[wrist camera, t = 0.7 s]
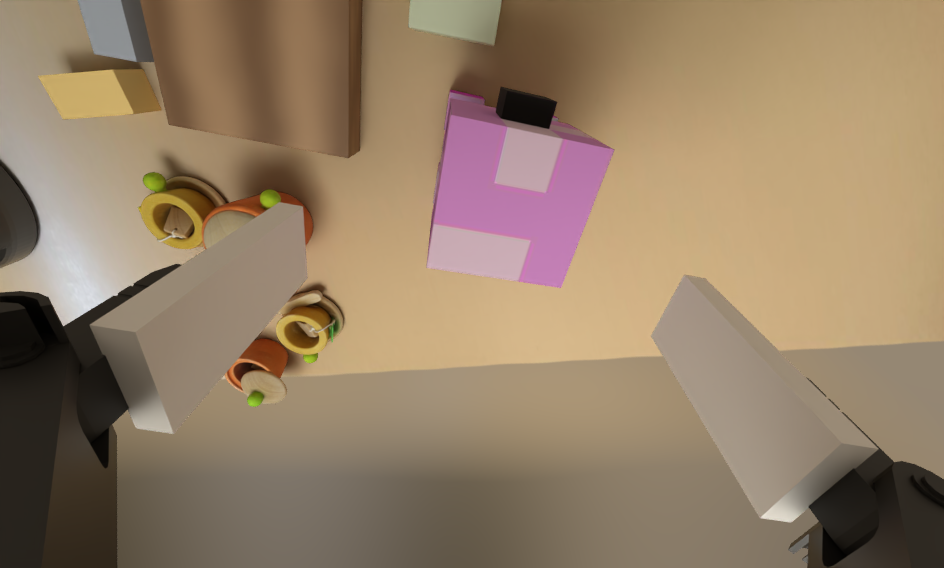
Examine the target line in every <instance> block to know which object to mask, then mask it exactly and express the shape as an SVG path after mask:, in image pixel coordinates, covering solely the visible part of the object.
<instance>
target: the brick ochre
mask: <svg viewBox="0 0 944 568" xmlns="http://www.w3.org/2000/svg"><path fill="white" fill-rule="evenodd" d="M38 77H39V79H40V81H41V82H42V84H43V86H44V87H45V89H46V91H47V93H48V94H49V96H50V98H51V99H52V101H53V103H54V105H55V106H56V108H57V110H58V111H59V113H60V115H61V117H62V118H63V119H76V118H89V117H102V116H114V115H127V114H137V113H145V112H152V111H159V110H161V108H160V105H159V103H158V101H157V99H156V97H155V94H154V92H153V90H152V88H151V86H150V83H149V81H148V79H147V77H146V75H145V72H144V70H143V69H113V70H101V71H90V72H78V73H67V74H55V75H44V76H38Z"/></svg>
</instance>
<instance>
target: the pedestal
mask: <svg viewBox="0 0 944 568" xmlns="http://www.w3.org/2000/svg"><path fill="white" fill-rule="evenodd" d="M140 2H141V7H142V11H143V15H144V20H145V24H146V28H147V33H148V37H149V41H150V46H151V50H152V54H153V58H154V63H155V67H156V71H157V76H158V80H159V84H160V89H161V93H162V97H163V102H164V106H165V110H166V115H167V119H168V123H169V125H173V126H178V127H184V128H189V129H194V130H200V131H205V132H211V133H216V134H221V135H227V136H232V137H237V138H243V139H248V140H254V141H259V142H264V143H270V144H275V145H280V146H286V147H291V148H297V149H302V150H307V151H313V152H318V153H323V154H329V155H334V156H340V157H345V158H349V157H351V156H352V155H354V154H355V153H357V152H358V151H360V97H361V38H362V0H140Z"/></svg>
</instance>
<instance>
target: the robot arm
mask: <svg viewBox="0 0 944 568" xmlns="http://www.w3.org/2000/svg"><path fill="white" fill-rule="evenodd" d="M36 239H37V227H36V222H35V218H34V215H33V212H32V210H31V208H30V206H29V204H28V202H27V200H26V198H25V196H24V195H23V193H22V192H21V190H20V189H19V187H18V186H17V185H16V183H15V182H14V181H13V180H12V178H11V177H10V176H9V175H8V174H7V173H6V171H5V170H4V169H3V168H2V167H1V166H0V268H2V267H4V266H7V265H9V264H12V263H14V262H17V261H19V260H21V259H23V258H25V257H26V256H27V255H29V254H30V252H31V251H32V250H33V248H34V246H35V243H36ZM307 278H308V277H307V261H306V245H305V230H304V214H303V206H298V205H292V204H287V203H281V202H279V203H277V204H276V205H274V206H273V207H271V208H270V209H268V210H266V211H265V212H263V213H262V214H260V215H259V216H257V217H256V218H254V219H253V220H251V221H249V222H248V223H246V224H245V225H243V226H242V227H240V228H239V229H237V230H236V231H234V232H232V233H231V234H229V235H228V236H226V237H225V238H223V239H222V240H220V241H218V242H217V243H215V244H214V245H212V246H211V247H209V248H208V249H206V250H205V251H203V252H201V253H200V254H198V255H197V256H195V257H194V258H192V259H191V260H189V261H188V262H186V263H184V264H183V265H180V264H175V265H172V266H169V267H166V268H163V269H160V270H157V271H154V272H152V273H150V274H149V275H147V276H145V277H144V278H142V279H140V280H139V281H137V282H136V283H134V285H133V286H129V287H127V288H126V289H124V290H122V291H121V292H119V293H118V296H113V297H111V298H109V299H108V300H106V301H104V302H103V303H101V304H99V305H98V306H96V307H95V308H93V309H91V310H90V311H88V312H86V313H85V314H83V315H81V316H80V317H78V318H77V319H75V320H73V321H72V322H70V323H68V324H67V325H65V326H63V325H62V323H61V321H60V319H59V317H58V315H57V313H56V311H55V309H54V307H53V305H52V303H51V301H50V299H49V297H46V296H44V295H42V294H39V293H34V292H23V291H17V292H3V293H0V568H117V435H116V432H115V430H114V427H113V425H112V424H113V423H114V422H115V421H116V420H117V419H118V418H119V417H120V416H121V415H122V414H123V413H124V412H125V411H126V410H128V412H129V414H130V416H131V418H132V420H133V423H134V425H135V427H136V428H137V429H144V430H151V431H158V432H165V433H172V434H173V433H175V432H176V430H177V429H178V428H179V427H180V426H181V425H182V423H183V422H184V421H185V419H187V418H188V416H189V415H190V414H191V413H192V412H193V411H194V409H195V408H196V407H197V406H198V405H199V404H200V403H201V401H202V400H203V399H204V398H205V397H206V395H207V394H208V393H209V392H210V391H211V390H212V389H213V387H214V386H215V385H216V384H217V383H218V381H219V380H220V379H221V378H222V377H223V376H224V375H225V373H226V372H227V371H228V370H229V369H230V368H231V366H232V365H233V364H234V363H235V362H236V361H237V359H238V358H239V357H240V356H241V355H242V354H243V353H244V351H245V350H246V349H247V348H248V347H249V346H250V344H251V343H252V342H253V341H254V340H255V339H256V337H257V336H258V335H259V334H260V333H261V332H262V330H263V329H264V328H265V327H266V326H267V325H268V323H269V322H270V321H271V320H272V319H273V318H274V316H275V315H276V314H277V313H278V312H279V311H280V309H281V308H282V307H283V306H284V305H285V304H286V303H287V301H288V300H289V299H290V298H291V297H292V296H293V294H294V293H295V292H296V291H297V290H298V289H299V287H300V286H301V285H302V284H303V283H304V282H305V280H306V279H307ZM651 337H652V339H653V340H654V342H655V344H656V345H657V347H658V349H659V350H660V352H661V354H662V355H663V357H664V359H665V360H666V362H667V364H668V365H669V367H670V369H671V370H672V372H673V374H674V375H675V377H676V379H677V380H678V382H679V384H680V385H681V387H682V388H683V390H684V392H685V394H686V395H687V397H688V399H689V400H690V402H691V404H692V405H693V407H694V409H695V410H696V412H697V414H698V415H699V417H700V419H701V420H702V422H703V424H704V425H705V427H706V429H707V430H708V432H709V434H710V435H711V437H712V439H713V440H714V442H715V444H716V446H717V447H718V449H719V450H720V452H721V454H722V456H723V457H724V459H725V461H726V462H727V464H728V465H729V467H730V468H731V471H732V472H733V474H734V476H735V477H736V479H737V481H738V482H739V484H740V486H741V487H742V489H743V491H744V492H745V494H746V496H747V497H748V499H749V501H750V502H751V504H752V506H753V507H754V509H755V511H756V512H757V514H758V516H759V517H760V518H764V519H771V520H779V521H785V522H792V521H793V520H795V519H796V518H797V517H798V516H799V515H801V514H802V513H803V512H804V511H805V510H806V509H808V508H810V509H811V511H812V512H813V514H814V515H815V516H816V517H817V519H818V520H819V522H818V523H817V524H816V525H814V526H813V527H812V528H811V529H809V530H808V531H807V532H805V533H804V534H803V535H802V536H800V537H799V538H798V539H796V540H795V541H794V542H793V543H791V545H790V547H789V549H788V550H789V551H790V552H792V553H793V554H794V553H795V552H797V551H798V550H799V549H801V548H807V549H808V555H806V556H805V557H804V558H803V559H802V560H803V561H804V562H806V563H807V564H808V567H807V568H944V479H942V478H940V477H939V476H937V475H935V474H934V473H932V472H930V471H928V470H926V469H924V468H922V467H919V466H917V465H915V464H911V463H907V462H903V461H900V462H893V460H891V459H890V458H889V457H888V456H887V455H886V454H885V453H884V452H883V451H882V450H881V449H880V448H879V447H878V446H877V445H876V444H875V443H874V442H873V441H872V440H871V439H870V438H869V437H868V436H867V435H866V434H865V433H864V432H863V431H862V430H861V429H860V428H859V427H858V426H857V425H856V424H855V423H854V422H852V420H851V419H849V418H848V417H847V416H846V415H845V414H844V413H843V412H841V411H839V410H840V409H839V408H838V407H837V406H836V405H835V404H834V403H833V402H832V401H831V400H830V399H827V398H826V395H825V394H824V393H823V392H822V391H821V390H820V389H819V388H818V387H817V386H816V385H815V384H814V383H813V382H812V381H811V380H809V379H808V378H807V377H805V376H804V375H803V374H802V373H801V372H800V371H799V370H798V369H797V368H796V367H795V366H794V365H793V364H792V363H791V362H790V361H789V360H788V359H787V358H785V356H784V355H783V354H782V353H781V352H780V351H779V350H778V349H777V348H776V347H775V346H773V345H772V344H771V343H770V342H769V341H768V340H767V339H766V338H765V337H764V336H763V335H762V334H761V333H760V332H759V331H758V330H757V329H756V328H755V327H754V326H753V325H752V324H751V323H750V322H749V321H748V320H747V319H746V318H745V317H744V316H743V315H742V314H741V313H740V312H739V311H738V310H737V309H736V308H735V307H734V306H733V305H732V304H731V303H730V302H729V301H728V300H727V299H726V298H725V297H724V296H723V295H722V294H721V293H720V292H719V291H717V290H716V289H715V288H714V287H713V286H712V285H711V284H710V283H709V282H708V281H707V280H706V279H705V278H700V277H695V276H689V275H684V276H683V278H682V280H681V282H680V283H679V285H678V287H677V289H676V291H675V293H674V294H673V296H672V298H671V300H670V302H669V304H668V305H667V307H666V309H665V311H664V313H663V315H662V316H661V318H660V320H659V322H658V324H657V326H656V327H655V329H654V331H653V333H652V335H651Z"/></svg>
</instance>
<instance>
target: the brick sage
mask: <svg viewBox="0 0 944 568" xmlns="http://www.w3.org/2000/svg"><path fill="white" fill-rule="evenodd" d="M501 3H502V0H410V9H409V24H408V27H409V28H411V29H413V30H415V31H419V32H424V33H429V34H434V35H439V36H444V37H449V38H454V39H458V40H463V41H468V42H473V43H478V44H483V45H488V46H493V47H494V44H495V38H496V32H497V26H498V20H499V14H500V8H501Z"/></svg>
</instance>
